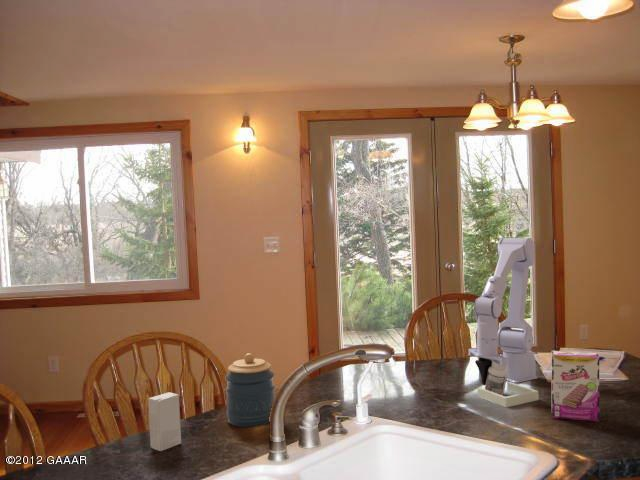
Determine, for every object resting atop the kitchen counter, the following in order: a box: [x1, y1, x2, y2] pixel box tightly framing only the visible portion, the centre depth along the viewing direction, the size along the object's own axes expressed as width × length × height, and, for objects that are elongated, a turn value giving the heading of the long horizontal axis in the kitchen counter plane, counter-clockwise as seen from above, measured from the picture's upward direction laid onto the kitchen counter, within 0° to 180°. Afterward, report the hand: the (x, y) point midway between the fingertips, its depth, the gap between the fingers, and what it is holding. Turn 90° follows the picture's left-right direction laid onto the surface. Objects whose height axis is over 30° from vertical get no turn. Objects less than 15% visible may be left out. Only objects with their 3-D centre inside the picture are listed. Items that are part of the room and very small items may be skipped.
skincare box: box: [147, 391, 182, 452], centre depth 144 cm, size 6×4×12 cm
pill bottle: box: [484, 360, 508, 396], centre depth 174 cm, size 5×5×10 cm
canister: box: [224, 352, 276, 428], centre depth 160 cm, size 13×13×18 cm
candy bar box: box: [550, 350, 600, 423], centre depth 153 cm, size 11×5×16 cm, turn 71°
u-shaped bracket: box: [477, 381, 540, 408], centre depth 171 cm, size 12×11×2 cm
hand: (486, 384), depth 177 cm, fingers closed, pressing on pill bottle
